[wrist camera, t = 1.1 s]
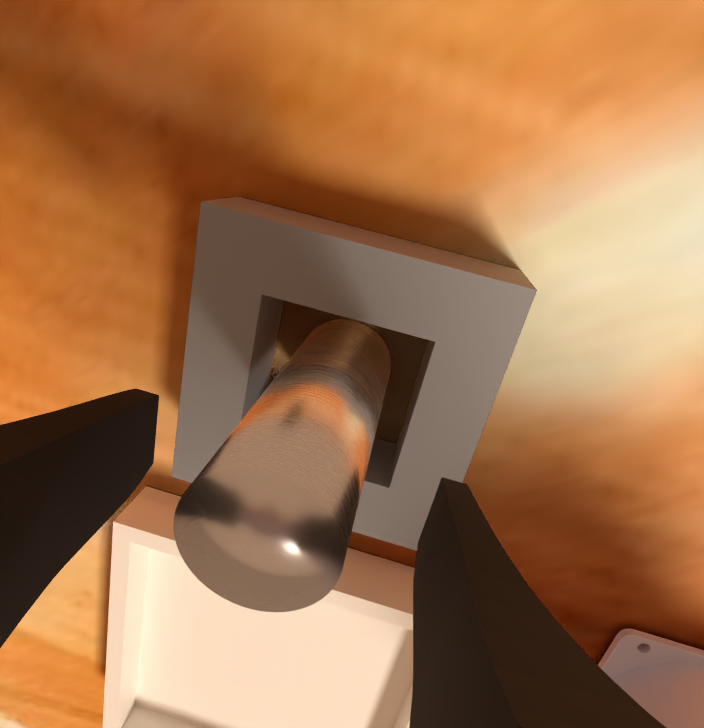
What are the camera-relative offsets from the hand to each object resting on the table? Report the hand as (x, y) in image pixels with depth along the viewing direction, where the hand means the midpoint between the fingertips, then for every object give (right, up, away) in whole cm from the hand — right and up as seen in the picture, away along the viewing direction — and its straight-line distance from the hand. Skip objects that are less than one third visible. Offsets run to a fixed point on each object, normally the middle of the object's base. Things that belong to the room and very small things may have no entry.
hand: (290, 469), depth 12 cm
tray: (-2, -12, +13) cm, 18 cm away
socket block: (+1, +3, +7) cm, 7 cm away
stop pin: (+1, +3, +7) cm, 7 cm away
